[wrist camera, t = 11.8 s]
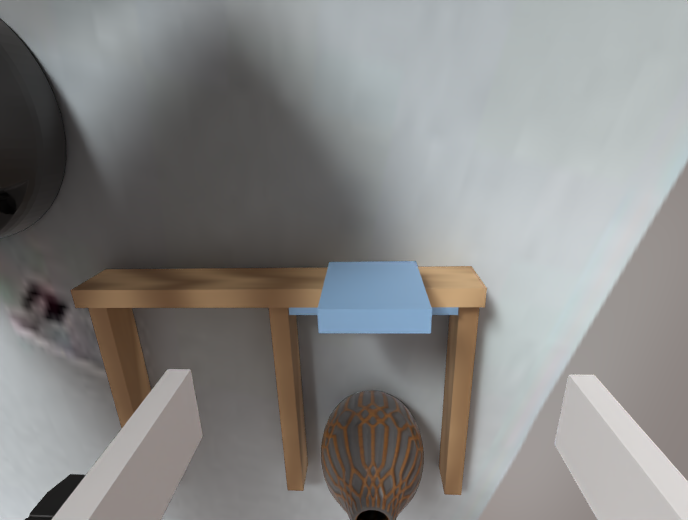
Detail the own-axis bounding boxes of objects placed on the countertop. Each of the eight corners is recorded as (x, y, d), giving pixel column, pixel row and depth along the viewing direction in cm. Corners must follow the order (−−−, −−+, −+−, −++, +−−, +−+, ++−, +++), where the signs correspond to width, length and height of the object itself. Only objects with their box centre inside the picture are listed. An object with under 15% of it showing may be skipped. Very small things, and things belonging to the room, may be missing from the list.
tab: (330, 280, 24) (318, 333, 18) (329, 262, 23) (317, 309, 17) (415, 280, 23) (430, 333, 18) (415, 261, 23) (432, 309, 17)
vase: (434, 400, 30) (459, 509, 21) (387, 460, 32) (394, 580, 24) (353, 360, 29) (347, 457, 21) (311, 424, 31) (290, 535, 23)
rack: (153, 460, 33) (130, 498, 30) (105, 269, 27) (70, 290, 24) (454, 466, 32) (464, 507, 28) (471, 266, 26) (486, 288, 23)
